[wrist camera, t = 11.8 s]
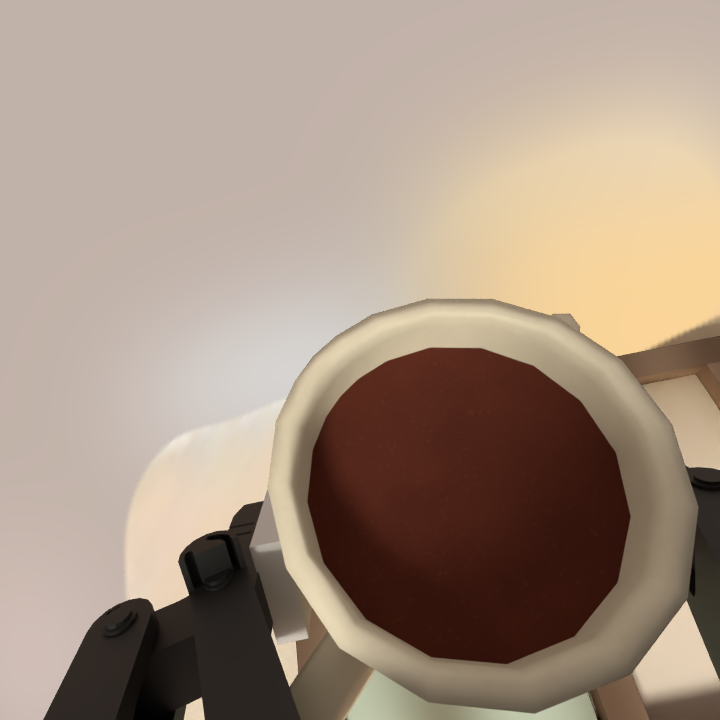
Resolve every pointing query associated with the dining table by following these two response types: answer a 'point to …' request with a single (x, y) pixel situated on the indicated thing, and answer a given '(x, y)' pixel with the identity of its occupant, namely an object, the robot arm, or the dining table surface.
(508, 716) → the game track
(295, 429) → the character mug
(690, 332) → the dining table surface
